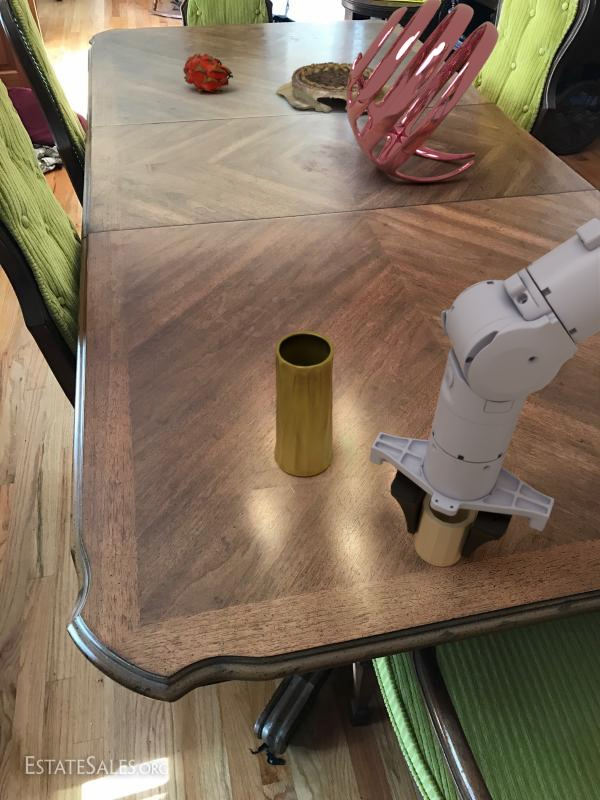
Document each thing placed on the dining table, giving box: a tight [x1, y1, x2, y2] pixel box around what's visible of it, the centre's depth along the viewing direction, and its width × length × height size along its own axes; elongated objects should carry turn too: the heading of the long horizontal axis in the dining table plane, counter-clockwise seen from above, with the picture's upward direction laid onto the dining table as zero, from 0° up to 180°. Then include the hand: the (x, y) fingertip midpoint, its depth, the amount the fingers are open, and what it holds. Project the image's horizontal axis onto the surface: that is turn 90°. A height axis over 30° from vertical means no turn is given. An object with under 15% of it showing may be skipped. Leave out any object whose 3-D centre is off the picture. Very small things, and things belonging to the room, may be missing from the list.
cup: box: [413, 493, 477, 568], centre depth 54 cm, size 4×4×6 cm
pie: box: [275, 61, 392, 114], centre depth 142 cm, size 28×27×5 cm
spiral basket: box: [346, 0, 500, 184], centre depth 106 cm, size 28×28×27 cm
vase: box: [273, 330, 335, 477], centre depth 59 cm, size 6×6×14 cm
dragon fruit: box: [182, 53, 234, 94], centre depth 143 cm, size 8×8×12 cm
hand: (440, 536), depth 55 cm, fingers closed on cup, 4 cm apart
